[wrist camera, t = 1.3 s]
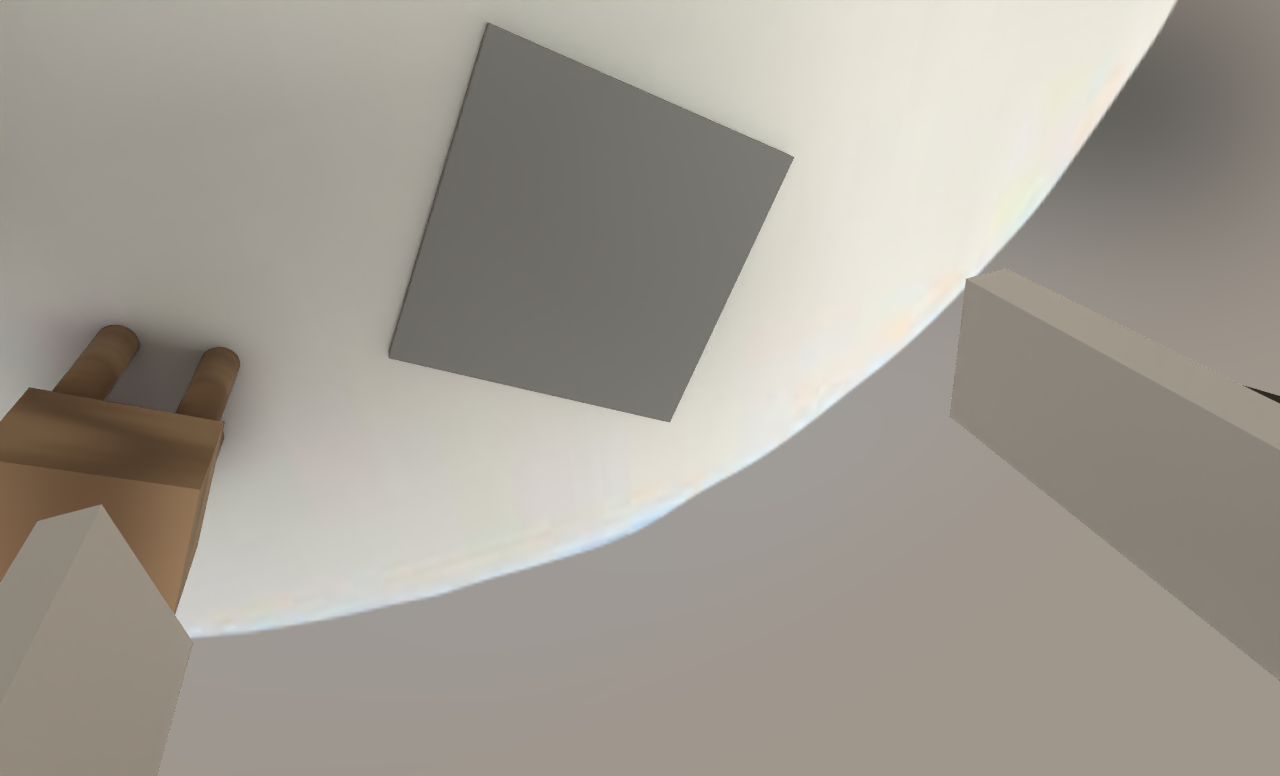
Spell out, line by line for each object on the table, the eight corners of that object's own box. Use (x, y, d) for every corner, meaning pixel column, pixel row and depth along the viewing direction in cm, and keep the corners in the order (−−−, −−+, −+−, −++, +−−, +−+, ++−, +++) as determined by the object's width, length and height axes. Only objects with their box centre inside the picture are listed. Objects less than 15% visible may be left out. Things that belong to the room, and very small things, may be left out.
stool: (75, 433, 30) (-42, 610, 22) (92, 313, 28) (-30, 457, 20) (226, 457, 33) (171, 625, 24) (250, 348, 31) (200, 489, 22)
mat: (388, 352, 33) (388, 358, 32) (487, 22, 28) (489, 23, 27) (666, 416, 38) (669, 422, 38) (787, 154, 34) (794, 157, 33)
